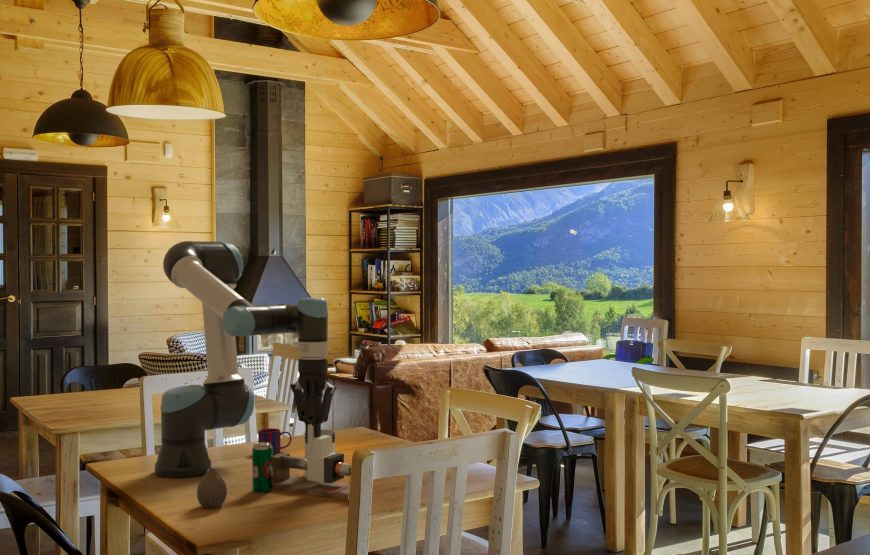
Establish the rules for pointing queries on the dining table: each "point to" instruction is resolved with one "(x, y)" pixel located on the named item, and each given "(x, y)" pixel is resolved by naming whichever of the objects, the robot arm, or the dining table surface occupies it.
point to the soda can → (262, 467)
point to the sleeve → (319, 458)
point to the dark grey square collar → (329, 467)
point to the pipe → (301, 464)
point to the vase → (211, 490)
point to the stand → (305, 483)
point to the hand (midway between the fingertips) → (313, 449)
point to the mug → (272, 438)
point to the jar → (323, 432)
